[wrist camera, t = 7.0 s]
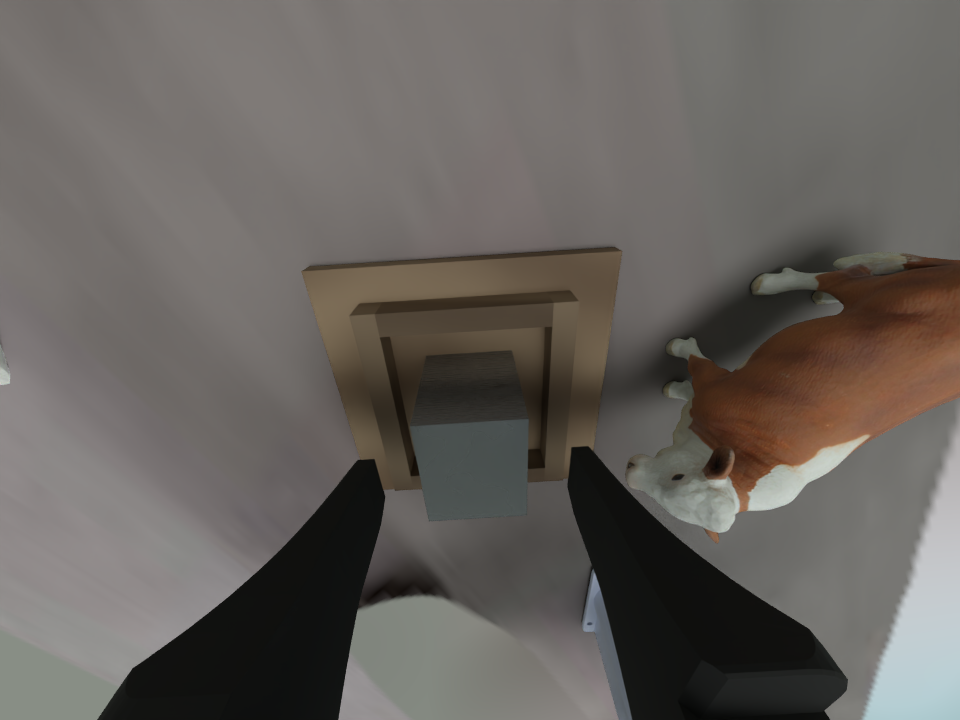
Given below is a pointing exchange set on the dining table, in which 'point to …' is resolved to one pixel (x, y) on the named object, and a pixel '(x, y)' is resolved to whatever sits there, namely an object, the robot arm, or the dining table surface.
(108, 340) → the dining table surface
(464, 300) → the brown square tray
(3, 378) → the cloth
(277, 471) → the dining table surface
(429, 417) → the grey wood-grain block
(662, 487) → the bull figurine
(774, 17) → the dining table surface
